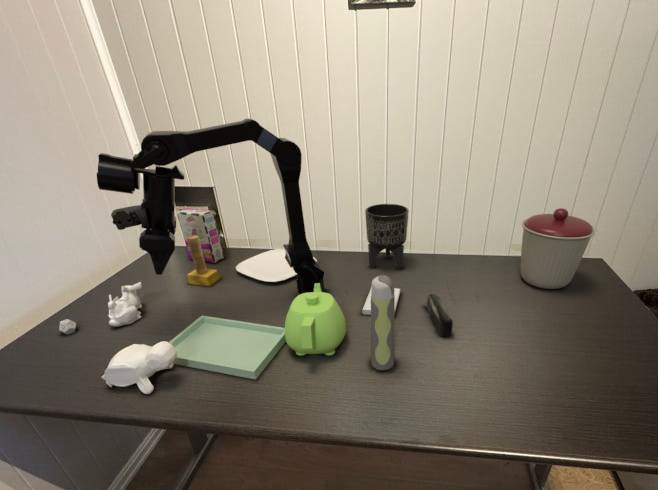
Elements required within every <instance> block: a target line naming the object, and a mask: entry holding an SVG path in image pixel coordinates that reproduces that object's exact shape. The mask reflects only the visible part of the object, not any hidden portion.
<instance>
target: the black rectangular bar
mask: <svg viewBox="0 0 658 490" xmlns="http://www.w3.org/2000/svg"><path fill="white" fill-rule="evenodd" d="M424 306H425V308H426V310H427V311H428V315H429V317H430V319H431V321H432V323H433V325H434V327H435V329H436V331H437V333H438V335H439V336H440V337H443V338H450V337H451V336H452V331H453V325H454V323H453V322H454V321H453V319H452V318H451V317H450V315H449V313H448V311H447V309H446V308H445V306H444V304H443V300H442V298H441V297H440V296H439V295H437V294H436V293H430V294H428V295H427V301H426V302H425V303H424Z"/></svg>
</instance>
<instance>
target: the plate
mask: <svg viewBox="0 0 658 490" xmlns="http://www.w3.org/2000/svg"><path fill="white" fill-rule="evenodd" d="M285 255H286V252H285V249H284V248H275V249H270V250H267V251H264V252H261V253H259V254H256V255H254V256H252V257H249V258H247V259H244V260H242V261H241V262H238V264H237V265H236V266H235V270H236V272H238V273H240V274H242V275H244V276H246V277H248V278H251V279H253V280H257V281H261V282H264V283H278V282H284V281H286V280H290V279H291V278H294V277H297V276H298V274H297V273H295V271H294V270H293V268H292V267H290V266H289V264H288V262H287V261H286V259H285ZM313 258H314V260H316V262H317V263H318V260H317V258H315V257H314V256H313Z"/></svg>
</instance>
